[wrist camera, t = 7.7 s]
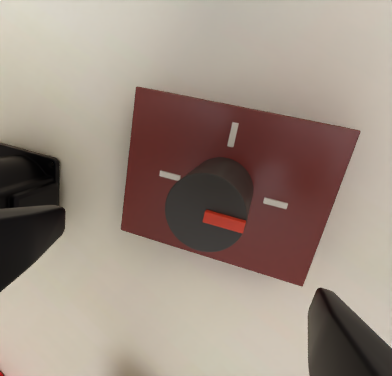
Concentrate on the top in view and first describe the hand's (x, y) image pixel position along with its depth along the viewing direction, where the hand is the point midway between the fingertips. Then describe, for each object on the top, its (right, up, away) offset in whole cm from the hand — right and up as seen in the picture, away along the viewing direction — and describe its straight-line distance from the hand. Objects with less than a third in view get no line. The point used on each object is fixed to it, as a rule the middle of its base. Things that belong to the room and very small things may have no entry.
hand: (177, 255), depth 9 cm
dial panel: (+3, +3, +10) cm, 11 cm away
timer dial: (+2, +2, +8) cm, 8 cm away
